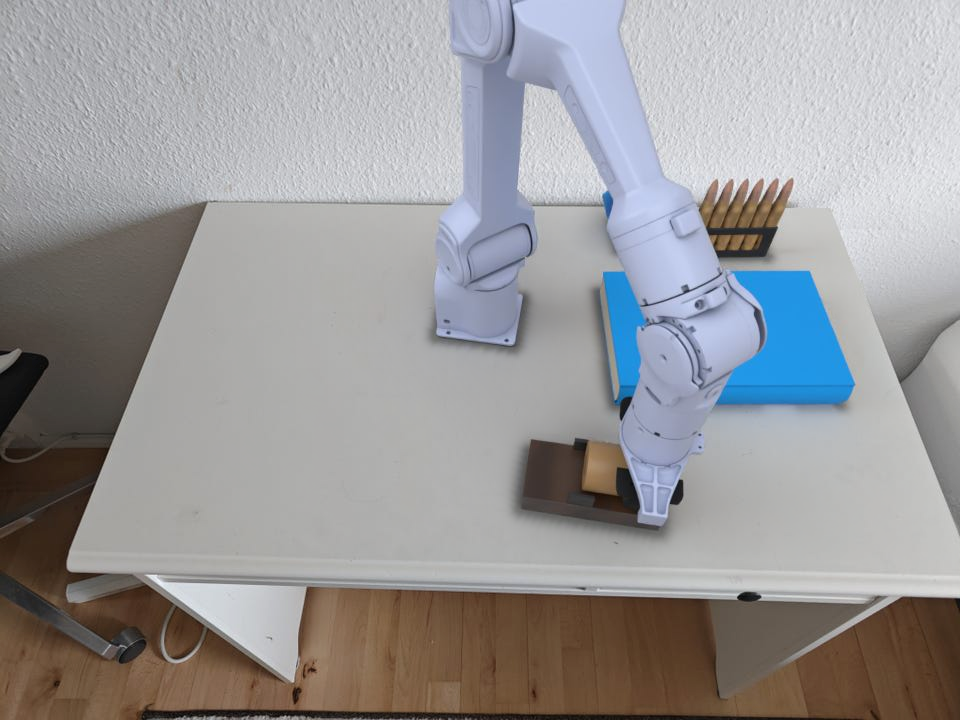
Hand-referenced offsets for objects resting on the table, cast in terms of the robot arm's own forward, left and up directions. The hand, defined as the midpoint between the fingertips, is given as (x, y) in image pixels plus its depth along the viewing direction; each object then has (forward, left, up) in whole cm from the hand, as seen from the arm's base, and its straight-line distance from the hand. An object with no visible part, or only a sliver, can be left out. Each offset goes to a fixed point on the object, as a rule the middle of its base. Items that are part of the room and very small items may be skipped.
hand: (635, 480), depth 61 cm
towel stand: (-4, 0, -4) cm, 5 cm away
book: (+9, +21, -4) cm, 23 cm away
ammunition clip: (+11, +37, -4) cm, 38 cm away
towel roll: (-2, 0, -1) cm, 2 cm away
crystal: (-2, +37, -4) cm, 37 cm away
